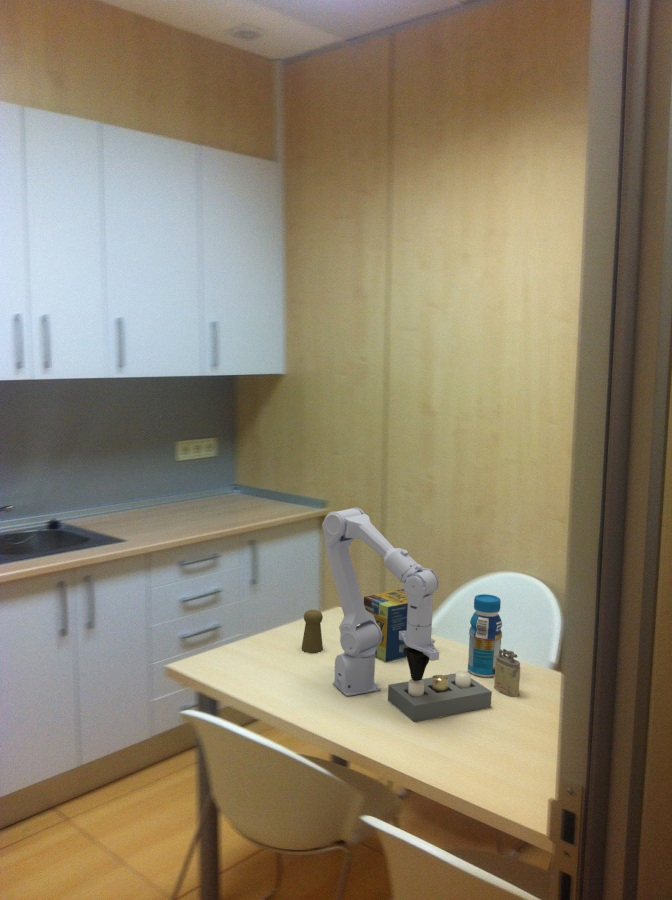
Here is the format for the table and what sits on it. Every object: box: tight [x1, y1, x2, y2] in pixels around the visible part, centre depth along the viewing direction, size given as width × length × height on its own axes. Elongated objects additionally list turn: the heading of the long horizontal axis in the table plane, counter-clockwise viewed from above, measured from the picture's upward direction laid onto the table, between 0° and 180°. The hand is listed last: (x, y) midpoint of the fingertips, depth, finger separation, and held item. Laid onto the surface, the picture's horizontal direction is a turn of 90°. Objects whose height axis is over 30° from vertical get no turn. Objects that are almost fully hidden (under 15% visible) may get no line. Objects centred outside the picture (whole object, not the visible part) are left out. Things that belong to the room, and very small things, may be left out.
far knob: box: [455, 670, 472, 689], centre depth 181 cm, size 4×4×4 cm
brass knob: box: [432, 674, 448, 693], centre depth 178 cm, size 4×4×4 cm
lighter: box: [493, 648, 521, 697], centre depth 187 cm, size 7×4×10 cm, turn 33°
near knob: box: [408, 678, 425, 698], centre depth 176 cm, size 4×4×4 cm
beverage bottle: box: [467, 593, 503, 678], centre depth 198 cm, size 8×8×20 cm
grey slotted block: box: [387, 672, 493, 723], centre depth 179 cm, size 21×12×4 cm, turn 115°
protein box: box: [363, 588, 408, 663], centre depth 210 cm, size 10×15×16 cm
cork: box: [301, 609, 324, 654], centre depth 210 cm, size 6×6×11 cm
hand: (416, 679), depth 175 cm, fingers closed
